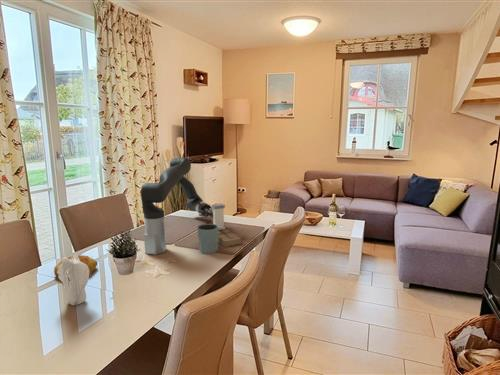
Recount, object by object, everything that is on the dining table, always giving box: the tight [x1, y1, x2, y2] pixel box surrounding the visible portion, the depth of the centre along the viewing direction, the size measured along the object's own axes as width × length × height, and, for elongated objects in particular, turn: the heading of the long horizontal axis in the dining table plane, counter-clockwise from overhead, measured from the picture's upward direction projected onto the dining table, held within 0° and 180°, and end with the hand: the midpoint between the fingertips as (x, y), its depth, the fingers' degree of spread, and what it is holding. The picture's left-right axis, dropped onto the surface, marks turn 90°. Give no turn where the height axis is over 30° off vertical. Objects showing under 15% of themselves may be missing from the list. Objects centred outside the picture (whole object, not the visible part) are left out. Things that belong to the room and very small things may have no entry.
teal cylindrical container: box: [197, 223, 219, 255], centre depth 157 cm, size 10×10×12 cm
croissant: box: [53, 254, 98, 280], centre depth 133 cm, size 14×16×8 cm
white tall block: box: [211, 203, 226, 230], centre depth 178 cm, size 4×6×14 cm, turn 118°
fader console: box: [218, 227, 242, 248], centre depth 173 cm, size 22×9×3 cm, turn 28°
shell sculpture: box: [57, 252, 90, 306], centre depth 111 cm, size 8×8×18 cm
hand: (214, 215), depth 182 cm, fingers closed
